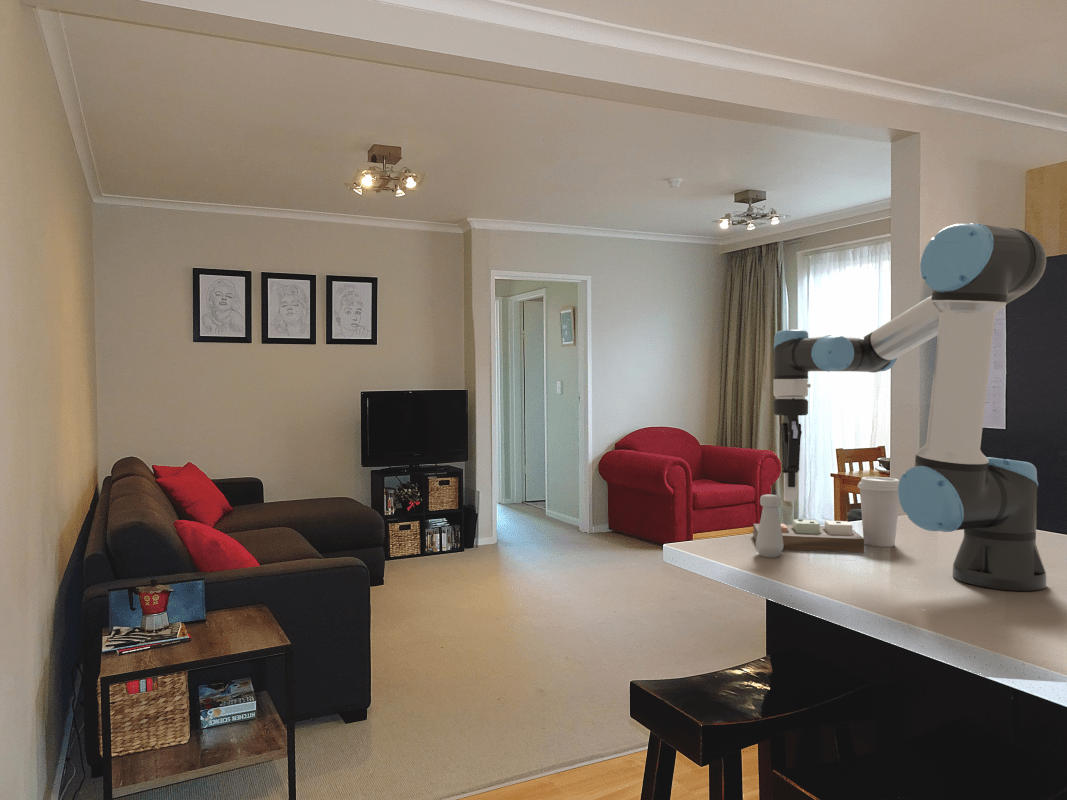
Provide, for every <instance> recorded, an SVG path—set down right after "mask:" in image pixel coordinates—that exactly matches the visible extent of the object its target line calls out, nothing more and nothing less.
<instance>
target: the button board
mask: <svg viewBox="0 0 1067 800" xmlns="http://www.w3.org/2000/svg"><path fill="white" fill-rule="evenodd" d="M759 524H760V523H753V525H752V527H753V529H752V531H753V532H752V534H753V535H752V536H753V539H754V540H755V541H756V539H757V534H758V529H759ZM785 525H786V527H787V533H782V538H783V544H784V547H783V550H790V549H797V550H796V551H814V550H821V552H838V551H847V552H846V553H863V552H864V553H865V544H864V538H863V536H861V535H860V534H859V532H856V531H855V530H854V529H853V528H852V535H831V534H827V533H826V532H825V525H824V526H823V525H820V534H805V533H795V531H794V530H793V524H785ZM822 550H824V551H822Z"/></svg>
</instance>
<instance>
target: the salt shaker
mask: <svg viewBox="0 0 1067 800" xmlns="http://www.w3.org/2000/svg"><path fill="white" fill-rule="evenodd" d="M759 505H760V506H762V510H761V516H760V520H759V523H758V524H759V529H758V534H757V539H756V540H755V547H756V549H757V552H758V555H759V556H761V557H764V558H770V559H771V558H772V559H774V558H779V557H780V556H781V554H782V552H783V550H784V549H783V547H784V544H783V538H782V531H781V525H780V524H781V519H780V514H779V513H780V512H779V507H780V506H781V505H782V500H781V497H780V496H779V495H778V494H772V493H771V494H770V493H769V494H762V495H761V496H760V499H759Z"/></svg>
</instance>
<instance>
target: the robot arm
mask: <svg viewBox="0 0 1067 800" xmlns="http://www.w3.org/2000/svg"><path fill="white" fill-rule="evenodd" d="M921 254H922V255H921V257H920V263H919V269H920V275H921V279H923V280H924V283H925V284H926V286H927V287H928V288H930V289H931V290H932V293H931V295H930V296H929V297H926V298H925V299H923V300H921V301H920V302H919V303H917V304H915V305H914V306H912V307H910V308H909V309H907V310H905V311H904V312H902V313H900V314H899V315H897V316H895V317H894V318H892V319H891V320H889V321H888V322H886V323H884V324H883V325H881V326H879V327H878V328H877V329H875V330H874V331H871V332H870V333H868V334H866V335H865V336H862V337H847V336H846V337H845V336H844V335H843V336H842V335H829V334H828V335H827V334H826V335H825V336H816V337H814V336H813V337H809V333H808V331H807V330H803V329H788V330H787V329H786V330H785V329H784V330H778V331H776V333H775V334H774V339H773V348H772V350H773V382H772V383H773V384H772V385H773V390H772V392H773V396H774V397H775V399H774V400H773V414H774V415H775V416H782V417H783V418H782V422H781V423H780V427H779V431H780V436H781V441H780V442H781V467H782V471H781V472H782V473H783V501H784V502H798V473H799V472H800V460H801V459H800V456H801V455H800V454H801V438H802V433H803V431H802V424H801V423H800V422H799V416H807V415H808V414H809V401H808V399H806V397H808V395H809V389H808V388H811V386H812V385H811V383H809V372H829V373H830V372H857V373H858V372H860V373H861V372H862V373H863V372H864V373H867V372H868V373H878V372H886V371H888V370H890V369H892V368H893V366H894V365H895V363H896V362H897V360H898V358H899V357H901V356H903V355H904V354H905V353H908V352H910V351H911V350H913V349H915V348H917V347H919V346H920V345H922V344H925V343H926V342H928V341H930V340H931V339H933V338H936V337H937V338H936V345H935V346H936V347H935V355H934V365H933V366H934V367H933V376H932V387H931V393H930V394H931V395H930V401H929V402H930V403H929V414H928V421H927V423H928V424H927V431H926V432H927V433H926V440H925V441H926V443H925V445H923V446H922V447H920V448H919V449H918V450H916V451H915V460H914V467H910V468H909V469H907V470H906V472H905V473H903V474H902V475H901V477H899V478H900V479H899V485H898V497H899V506H901V509H902V512H903V513H905V514H906V515H907V518H908V519H909V520H910V521H911V522H912V523H913V524H914V525H915V526H917V527H919V528H920V529H922V530H925V531H928V532H942V533H951V532H955V531H960V530H961V531H963V538H962V541H961V542H960V546H959V547H958V550H957V553H956V555H955V559H954V561H953V563H952V577H953V578H954V579H956V580H957V581H960V582H963V583H967V584H969V585H973V586H978V587H982V588H988V589H995V590H1004V591H1015V592H1016V591H1018V592H1019V591H1020V592H1021V591H1022V592H1028V591H1029V592H1031V591H1039V590H1043V589H1045V588H1046V587H1047V572H1046V570H1045V566H1044V563H1043V561H1042V558H1041V555H1040V553H1039V549H1038V546H1037V541H1036V540H1037V508H1038V506H1037V505H1038V487H1039V481H1038V476H1037V475H1038V471H1037V468H1036V466H1035V465H1034V464H1033V463H1031V462H1029V461H1021V460H1016V459H1015V460H1014V459H1005V458H998V457H989V456H988V457H987V456H986V455H985V454H984V453H983V452H982V450H981V445H982V435H983V427H984V417H985V408H986V400H987V391H988V381H989V373H990V362H991V356H992V345H993V338H994V330H995V329H994V327H995V317H996V314H997V313H998V311H1000V310H1001V309H1003V308H1004V307H1005V306H1006V305H1007V304H1009V303H1010V302H1012V301H1015V300H1016V299H1018V298H1019V297H1021V296H1022V295H1025V294H1026V293H1027V292H1029V291H1031V289H1032V288H1034V287H1035V286H1036V285H1037V284H1038V283H1039V281H1040V279H1041V278H1042V277H1043V275H1044V273H1045V270H1046V268H1047V254H1046V251H1045V247H1044V245H1043V244H1042V242H1041V241H1040V240H1039V239H1038V238H1037V237H1036V236H1035V235H1033V234H1032V233H1030V232H1029V231H1026V230H1022V229H1019V228H1011V227H1010V228H1009V227H1002V226H996V225H995V226H994V225H988V224H982V223H972V222H971V223H956V224H952V225H949V226H946V227H945V228H943V229H941V230H940V231H938V232H937V233H936V234H935V236H933V237H932V238H931V239H930V240H929V241H928V243H927V244H926V245H925V247H924V249H923V252H922V253H921Z"/></svg>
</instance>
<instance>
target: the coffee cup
mask: <svg viewBox="0 0 1067 800" xmlns="http://www.w3.org/2000/svg"><path fill="white" fill-rule="evenodd" d="M899 481H900V479H898V478H893V477H886V476H885V477H884V476H883V477H881V476H863V477H861V479H860V481H859V482H858V483H857V488H858V489H859V497H860V509H861V520H862V521H861V523H862V535H863V536H862V537H863V538H864V543H865V544H864V545H867V546H872V547H878V548H880V547H881V548H891V547H892V548H893V547H894V546H895V544H896V534H897V525H898V518H899V517H898V516H899V510H900V509H899V508H900V502H899V497H898V485H899Z"/></svg>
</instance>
